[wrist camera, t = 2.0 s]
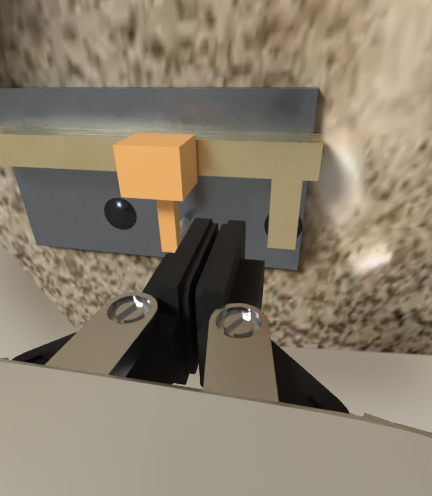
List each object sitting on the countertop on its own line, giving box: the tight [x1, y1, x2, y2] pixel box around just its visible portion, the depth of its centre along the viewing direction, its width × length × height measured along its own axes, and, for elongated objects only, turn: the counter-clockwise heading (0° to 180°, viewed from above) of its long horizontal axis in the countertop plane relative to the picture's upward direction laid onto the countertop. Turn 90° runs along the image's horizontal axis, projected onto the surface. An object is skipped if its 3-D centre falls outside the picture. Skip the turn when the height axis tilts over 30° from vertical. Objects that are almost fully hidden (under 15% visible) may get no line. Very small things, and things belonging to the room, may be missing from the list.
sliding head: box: [113, 133, 197, 253], centre depth 24 cm, size 4×8×6 cm, turn 1°
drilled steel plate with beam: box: [0, 87, 324, 270], centre depth 27 cm, size 26×14×4 cm, turn 91°
